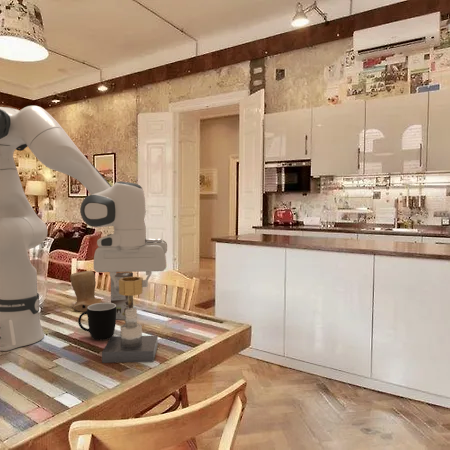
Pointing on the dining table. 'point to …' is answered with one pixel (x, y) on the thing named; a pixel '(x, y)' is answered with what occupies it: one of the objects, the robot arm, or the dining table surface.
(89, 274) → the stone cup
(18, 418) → the dining table surface
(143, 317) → the dining table surface
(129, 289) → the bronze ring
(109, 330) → the mug
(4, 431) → the dining table surface
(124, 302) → the coffee box
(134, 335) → the grey plate with knob
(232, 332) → the dining table surface
